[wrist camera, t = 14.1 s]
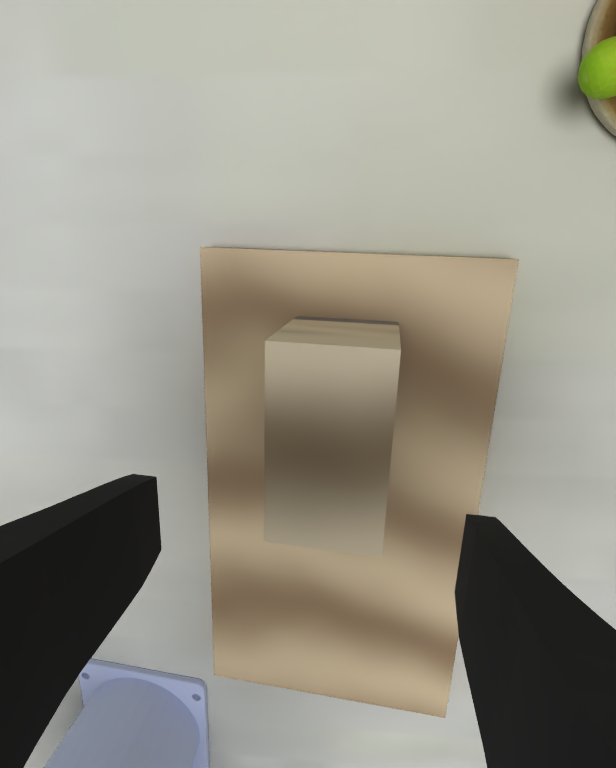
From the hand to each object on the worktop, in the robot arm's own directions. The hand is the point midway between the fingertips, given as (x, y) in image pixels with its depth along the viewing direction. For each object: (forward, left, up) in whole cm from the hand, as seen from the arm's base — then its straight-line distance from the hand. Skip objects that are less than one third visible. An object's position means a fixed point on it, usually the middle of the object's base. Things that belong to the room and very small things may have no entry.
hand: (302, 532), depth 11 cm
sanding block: (0, 0, -9) cm, 9 cm away
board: (-5, 0, -10) cm, 12 cm away
